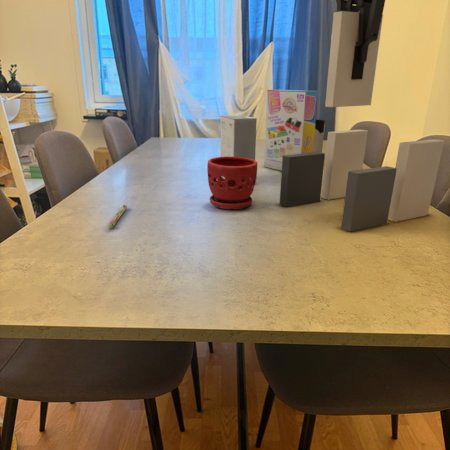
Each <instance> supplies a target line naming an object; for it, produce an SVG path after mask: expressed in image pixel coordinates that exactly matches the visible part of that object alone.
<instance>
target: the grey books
mask: <svg viewBox="0 0 450 450" xmlns="http://www.w3.org/2000/svg"><path fill="white" fill-rule="evenodd" d="M325 157H326V152H325V153H324V152H322V153H320V152H313V153H303V154H293V155H283V158H282V171H281V173H280V174H281V176H280V193H279V205H281V206H283V207H285V208H289V207H294V206H301V205H306V204H311V203H317V202H318V203H319V202H320V201H321V195H322V186H323V176H324V167H325ZM396 171H397V168H395V167H392V166H387V165H385V166H379V167H371V168H362V170H354V171H348V179H347V187H346V194H345V197H344V203H343V210H342V218H341V225H340V229H342V230H345V231H347V232H351V233H352V232H355V231H360V230H365V229H369V228H374V227H375V228H376V227H379V226H383V225H387V224H388V221H389V220H388V215H389V209H390V204H391V198H392V193H393V187H394V182H395V176H396Z"/></svg>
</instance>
